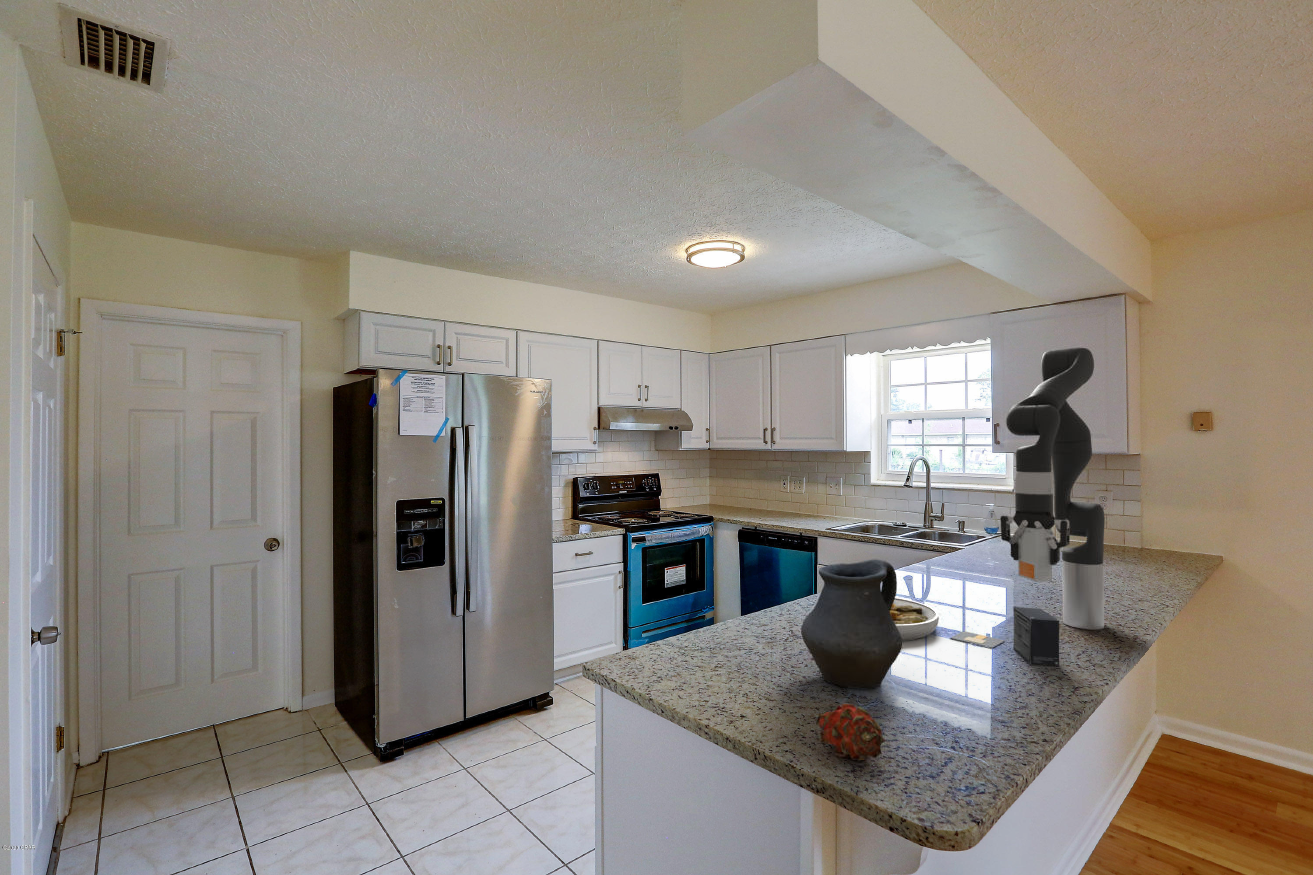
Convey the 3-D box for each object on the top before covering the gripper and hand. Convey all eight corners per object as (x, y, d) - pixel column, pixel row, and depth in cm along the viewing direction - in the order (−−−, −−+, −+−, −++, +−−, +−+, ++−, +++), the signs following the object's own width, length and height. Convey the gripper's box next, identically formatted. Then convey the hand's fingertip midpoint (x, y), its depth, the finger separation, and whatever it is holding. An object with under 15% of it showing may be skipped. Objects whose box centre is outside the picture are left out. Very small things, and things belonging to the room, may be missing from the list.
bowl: (946, 621, 172) (945, 593, 172) (929, 652, 147) (928, 619, 147) (839, 606, 188) (838, 580, 188) (806, 632, 163) (806, 603, 163)
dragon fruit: (884, 783, 93) (820, 763, 103) (904, 735, 98) (841, 720, 108) (858, 746, 91) (795, 729, 101) (880, 699, 96) (818, 687, 105)
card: (963, 632, 161) (963, 630, 161) (1005, 641, 153) (1005, 639, 153) (950, 638, 156) (950, 637, 156) (992, 648, 148) (992, 647, 148)
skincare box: (1017, 576, 145) (1016, 525, 145) (1034, 575, 145) (1033, 525, 145) (1035, 582, 139) (1034, 529, 139) (1053, 581, 139) (1052, 528, 139)
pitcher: (782, 671, 135) (781, 558, 135) (859, 656, 143) (858, 550, 144) (845, 708, 116) (844, 576, 116) (930, 689, 125) (929, 566, 125)
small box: (1062, 667, 136) (1061, 620, 136) (1029, 665, 137) (1029, 618, 137) (1042, 651, 146) (1041, 607, 146) (1012, 649, 148) (1011, 605, 148)
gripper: (1074, 492, 139) (1075, 564, 139) (1006, 488, 150) (1007, 555, 150) (1064, 494, 134) (1065, 569, 134) (994, 490, 145) (995, 560, 145)
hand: (1034, 562), depth 142 cm, fingers closed on skincare box, 7 cm apart
